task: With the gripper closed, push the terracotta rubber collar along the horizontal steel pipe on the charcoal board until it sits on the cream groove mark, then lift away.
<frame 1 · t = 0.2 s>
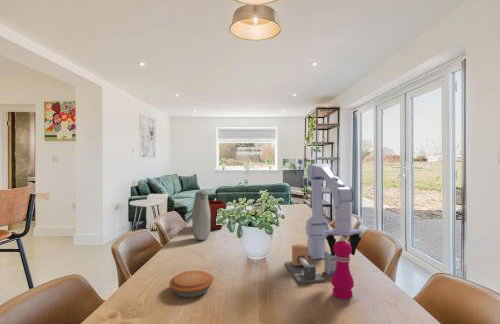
hand: (342, 254, 106), 10 cm above the table, tool pointing down, fingers open, 7 cm apart
collar: (299, 254, 118), point 6 cm above the table, slide at 0.0 cm
pepper mill: (342, 295, 96), on the table
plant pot: (210, 228, 187), on the table
pie: (191, 290, 100), on the table
pipe stand: (303, 272, 114), on the table
medicine box: (335, 272, 114), on the table
grey vase: (201, 239, 161), on the table
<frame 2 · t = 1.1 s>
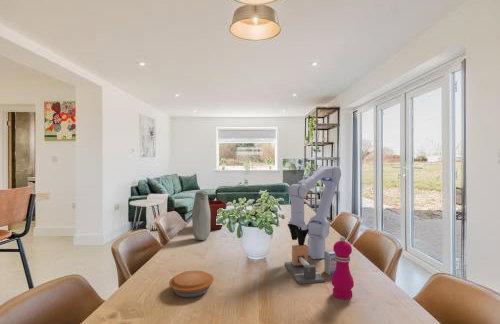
hand: (297, 242, 123), 9 cm above the table, tool pointing down, fingers open, 7 cm apart
collar: (299, 254, 118), point 6 cm above the table, slide at -0.1 cm, touching gripper
everything else where it was.
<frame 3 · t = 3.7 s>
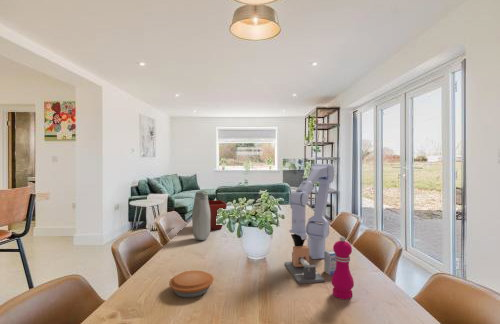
hand: (298, 251, 120), 7 cm above the table, tool pointing down, fingers closed
collar: (301, 256, 117), point 6 cm above the table, slide at 1.4 cm, touching gripper
everything else where it was.
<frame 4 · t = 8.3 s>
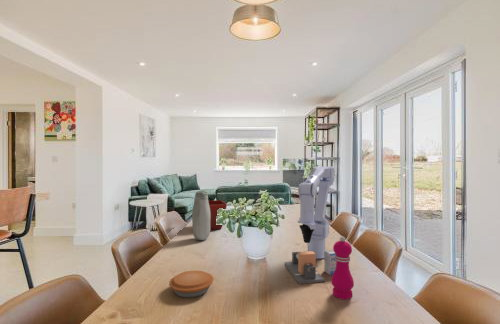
hand: (306, 242, 120), 10 cm above the table, tool pointing down, fingers closed
collar: (306, 262, 110), point 6 cm above the table, slide at 8.4 cm
everything else where it was.
at the end: collar slide at 8.4 cm; medicine box moved 0.3 cm from its start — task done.
